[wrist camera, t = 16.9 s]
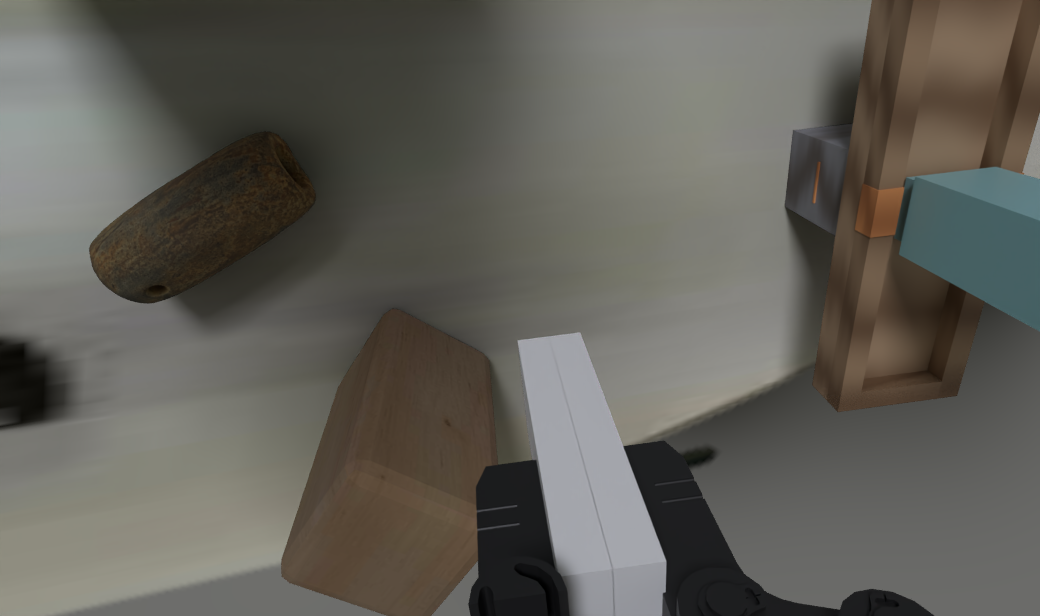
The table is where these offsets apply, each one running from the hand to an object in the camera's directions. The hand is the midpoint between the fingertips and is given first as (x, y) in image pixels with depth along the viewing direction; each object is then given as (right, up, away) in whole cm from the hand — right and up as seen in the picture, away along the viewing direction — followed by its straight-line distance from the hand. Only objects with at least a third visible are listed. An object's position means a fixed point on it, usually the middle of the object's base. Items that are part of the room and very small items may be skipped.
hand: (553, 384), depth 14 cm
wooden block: (-10, -3, +37) cm, 39 cm away
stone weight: (-23, +10, +30) cm, 39 cm away
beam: (+24, +13, +32) cm, 42 cm away
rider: (+25, +9, +23) cm, 35 cm away
